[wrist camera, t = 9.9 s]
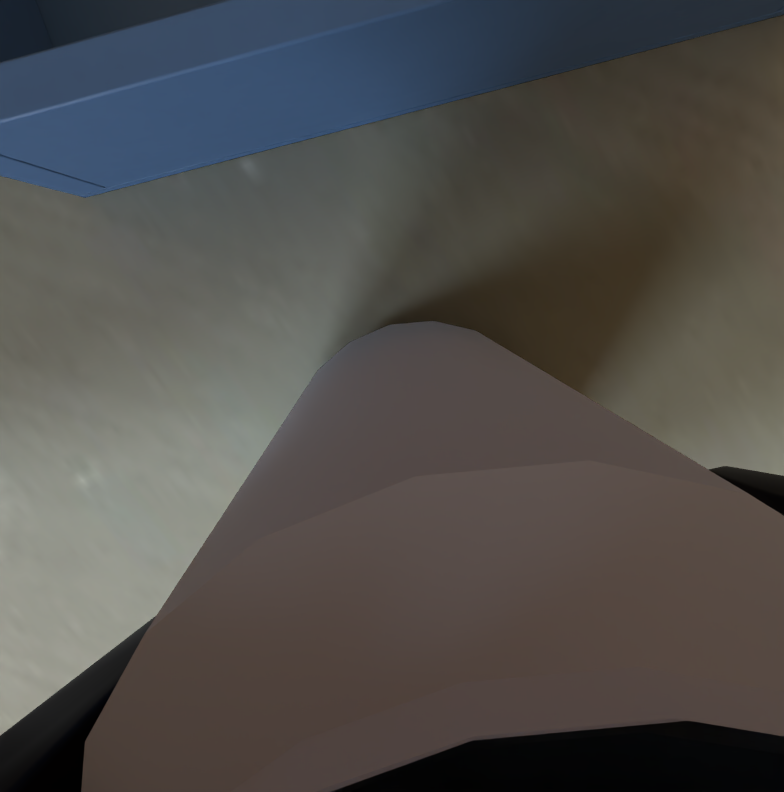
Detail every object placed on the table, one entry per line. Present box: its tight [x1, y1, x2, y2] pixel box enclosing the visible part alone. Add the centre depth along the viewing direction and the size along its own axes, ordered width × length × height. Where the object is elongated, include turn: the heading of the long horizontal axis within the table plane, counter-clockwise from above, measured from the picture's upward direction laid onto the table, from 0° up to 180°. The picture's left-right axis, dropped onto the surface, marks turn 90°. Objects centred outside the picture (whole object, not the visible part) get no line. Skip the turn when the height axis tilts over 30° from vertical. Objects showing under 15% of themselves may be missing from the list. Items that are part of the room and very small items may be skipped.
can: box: [81, 321, 784, 792], centre depth 8 cm, size 8×8×12 cm
